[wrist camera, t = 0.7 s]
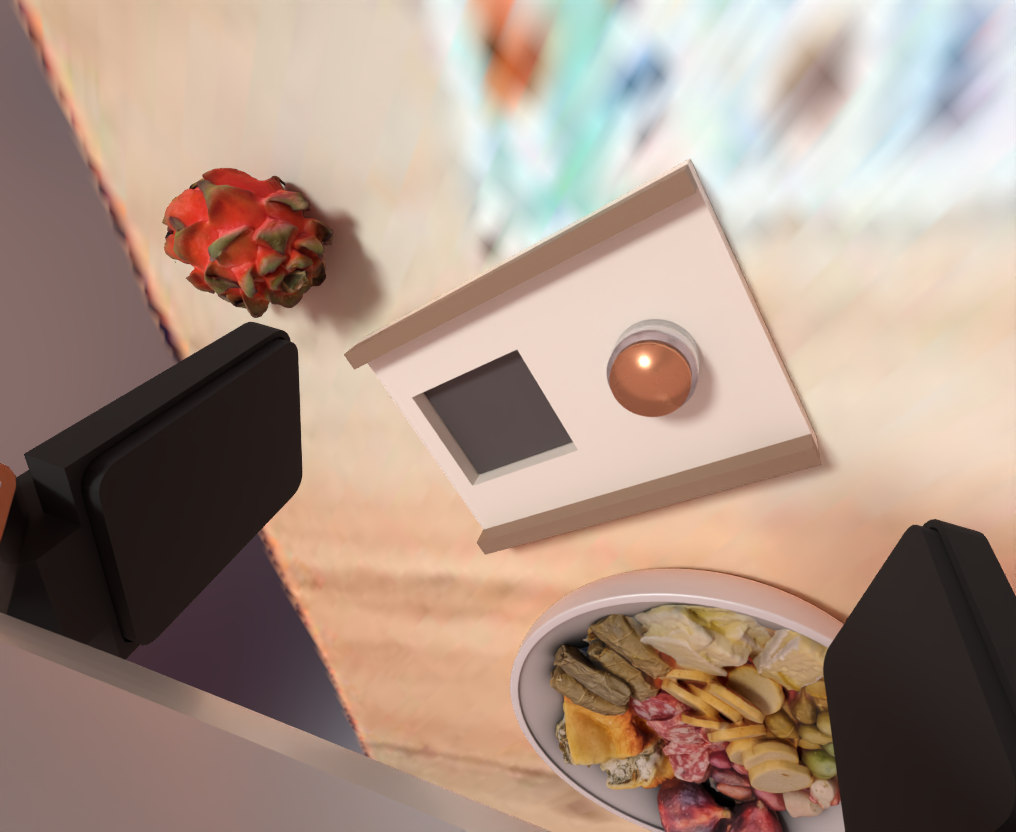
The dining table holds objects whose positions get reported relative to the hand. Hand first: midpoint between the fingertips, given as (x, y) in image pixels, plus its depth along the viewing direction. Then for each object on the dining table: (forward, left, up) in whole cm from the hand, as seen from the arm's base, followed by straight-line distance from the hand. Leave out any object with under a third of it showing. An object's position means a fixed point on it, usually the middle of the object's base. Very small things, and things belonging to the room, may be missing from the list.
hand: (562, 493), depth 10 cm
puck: (+6, +9, -27) cm, 29 cm away
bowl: (+16, +38, -29) cm, 50 cm away
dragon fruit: (+25, -9, -29) cm, 39 cm away
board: (+12, +9, -29) cm, 32 cm away
